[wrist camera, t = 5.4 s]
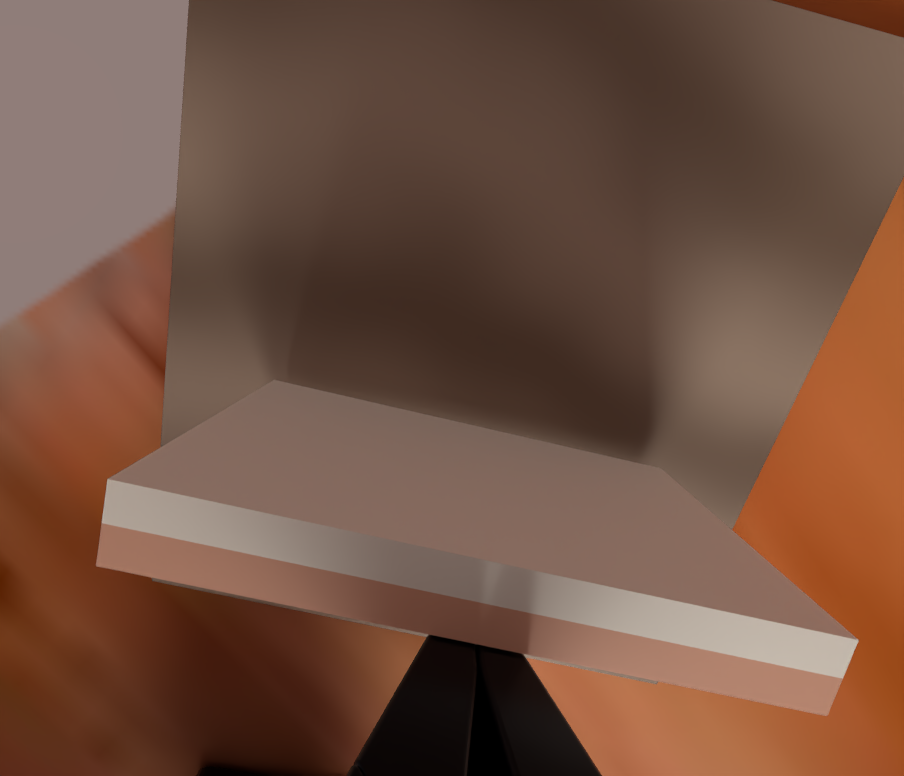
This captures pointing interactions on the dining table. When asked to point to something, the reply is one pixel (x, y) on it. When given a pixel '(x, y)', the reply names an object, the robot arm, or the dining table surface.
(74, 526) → the dining table surface
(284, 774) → the dining table surface
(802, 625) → the tile
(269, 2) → the board
